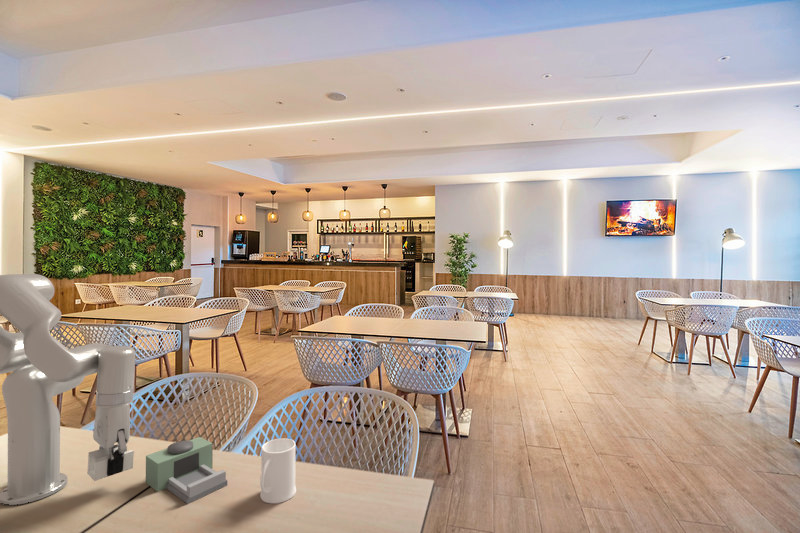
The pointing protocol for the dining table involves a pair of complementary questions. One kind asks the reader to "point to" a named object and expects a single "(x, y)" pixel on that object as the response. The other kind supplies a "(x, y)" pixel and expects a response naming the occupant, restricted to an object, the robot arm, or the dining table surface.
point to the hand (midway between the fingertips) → (110, 468)
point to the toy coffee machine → (185, 470)
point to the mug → (278, 471)
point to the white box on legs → (105, 462)
